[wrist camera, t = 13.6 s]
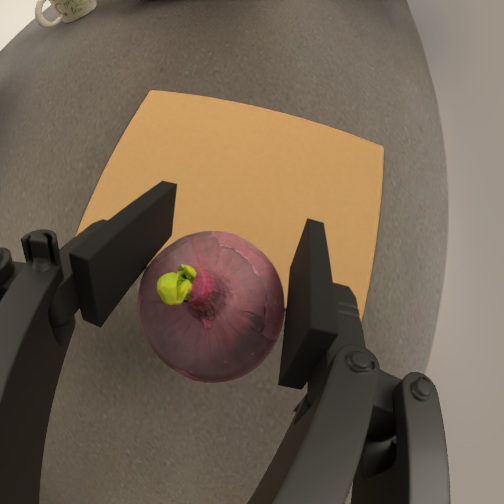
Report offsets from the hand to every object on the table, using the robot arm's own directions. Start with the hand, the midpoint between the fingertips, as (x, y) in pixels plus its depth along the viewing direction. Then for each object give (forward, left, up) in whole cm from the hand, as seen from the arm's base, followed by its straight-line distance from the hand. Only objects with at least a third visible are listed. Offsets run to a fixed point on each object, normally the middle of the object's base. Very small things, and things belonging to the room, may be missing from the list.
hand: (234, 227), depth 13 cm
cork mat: (+1, -4, -5) cm, 7 cm away
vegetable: (0, +4, -4) cm, 5 cm away
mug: (+36, -28, -5) cm, 46 cm away
